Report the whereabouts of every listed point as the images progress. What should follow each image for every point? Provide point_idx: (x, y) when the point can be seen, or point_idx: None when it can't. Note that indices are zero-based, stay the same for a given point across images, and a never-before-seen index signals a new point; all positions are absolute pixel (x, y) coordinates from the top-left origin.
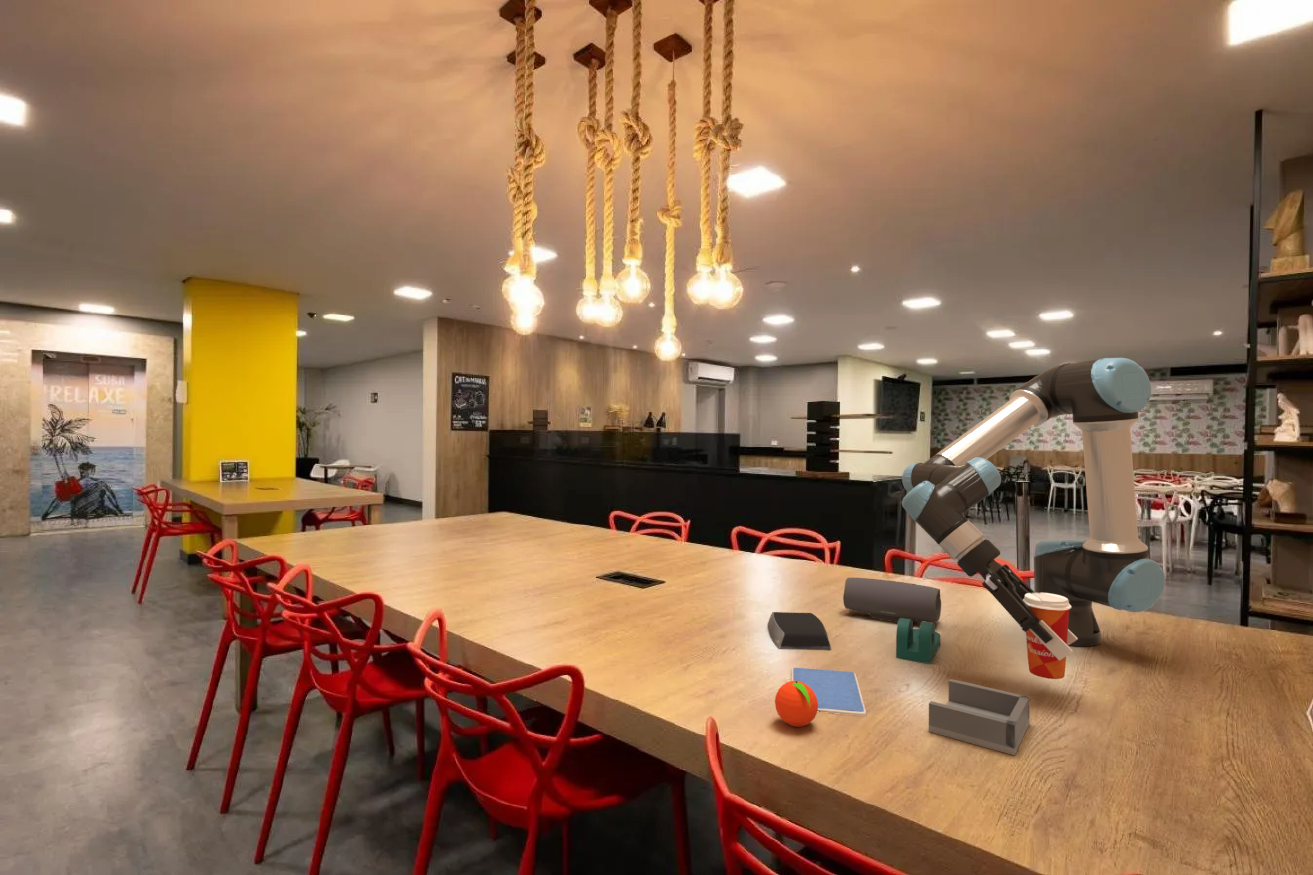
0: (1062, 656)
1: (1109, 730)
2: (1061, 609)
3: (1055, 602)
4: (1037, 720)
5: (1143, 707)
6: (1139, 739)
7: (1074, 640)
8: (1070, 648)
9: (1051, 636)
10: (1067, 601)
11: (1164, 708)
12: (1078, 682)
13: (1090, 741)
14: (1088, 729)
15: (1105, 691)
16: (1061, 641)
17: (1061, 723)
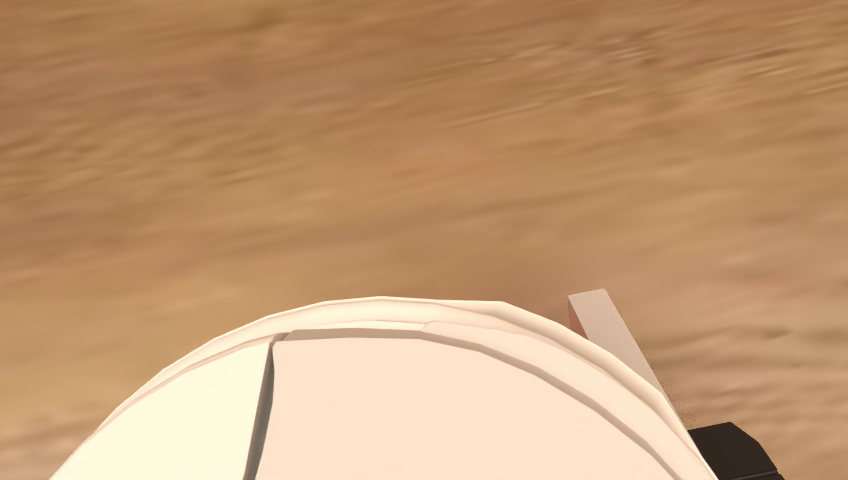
0: None
1: (632, 176)
2: (598, 365)
3: (659, 461)
4: (812, 426)
5: (231, 157)
6: (624, 79)
7: None
8: (576, 309)
9: (697, 444)
10: (328, 335)
11: (178, 101)
12: None
13: (828, 192)
14: (702, 235)
15: (132, 323)
16: (645, 360)
17: (742, 336)
